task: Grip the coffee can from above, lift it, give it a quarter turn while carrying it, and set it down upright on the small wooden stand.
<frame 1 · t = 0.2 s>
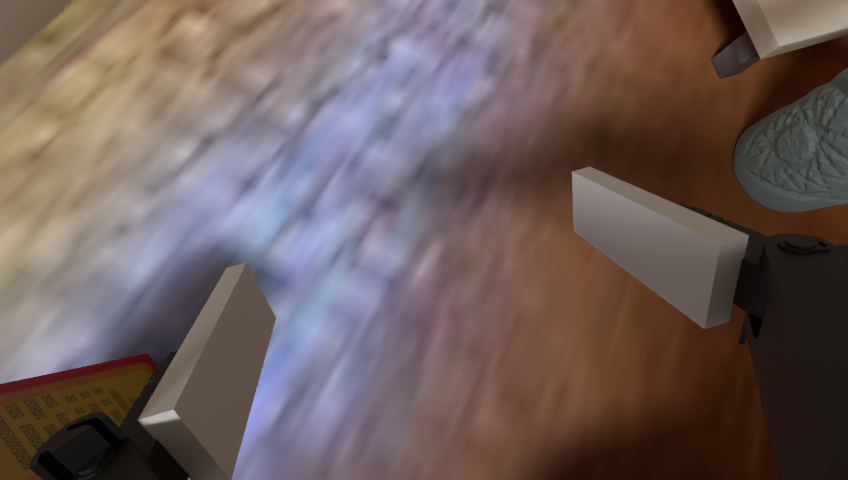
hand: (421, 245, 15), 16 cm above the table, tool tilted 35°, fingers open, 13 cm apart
baking soda box: (123, 430, 28), on the table
grey green cup: (779, 164, 32), on the table
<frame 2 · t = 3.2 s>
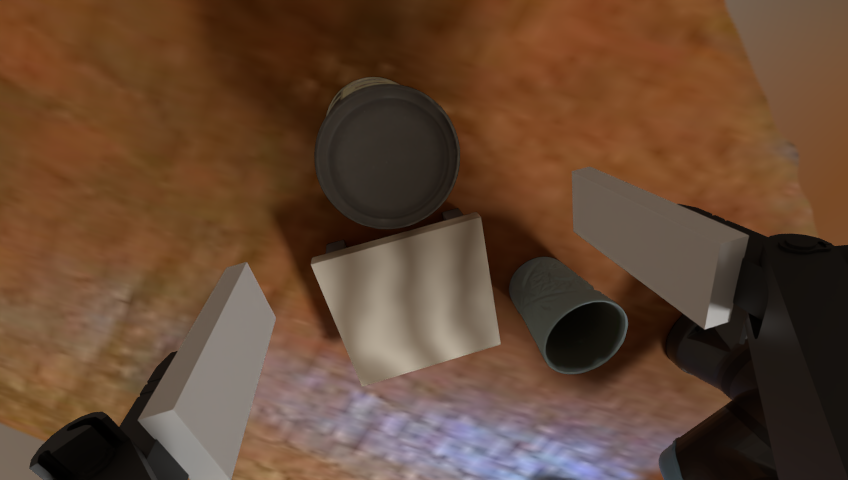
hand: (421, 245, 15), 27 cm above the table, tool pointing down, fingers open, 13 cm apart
coffee can: (376, 130, 39), on the table
grey green cup: (536, 281, 51), on the table
stand: (408, 281, 47), on the table
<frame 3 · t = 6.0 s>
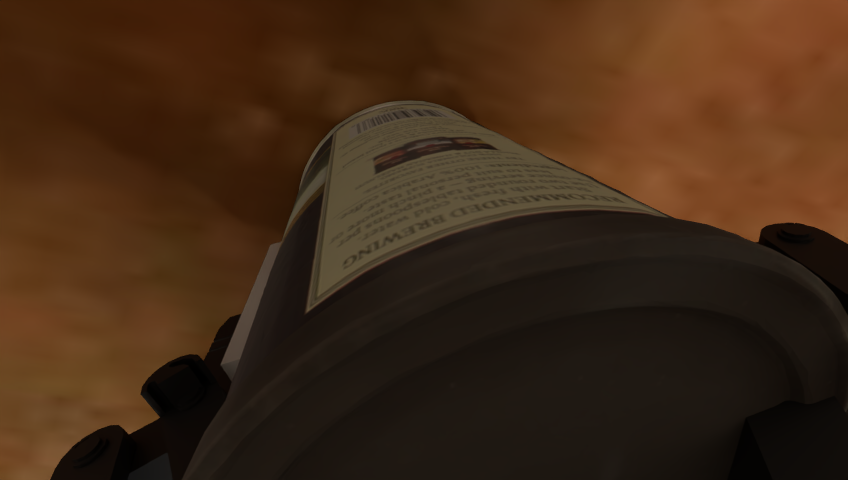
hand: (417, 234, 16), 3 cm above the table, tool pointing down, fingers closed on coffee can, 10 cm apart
coffee can: (408, 209, 18), on the table, touching gripper
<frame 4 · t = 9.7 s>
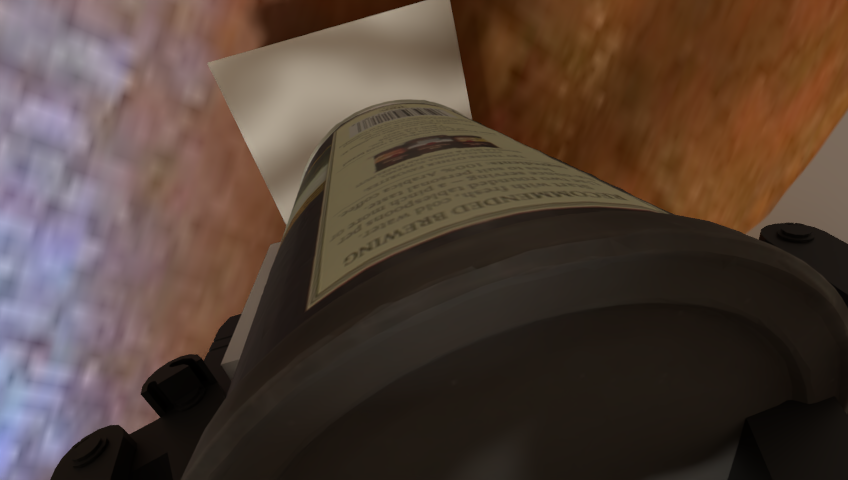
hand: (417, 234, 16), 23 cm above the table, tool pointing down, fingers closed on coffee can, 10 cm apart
coffee can: (408, 208, 18), point 20 cm above the table, touching gripper
stand: (366, 135, 36), on the table
when the fingers open (10 cm above the table, at t = 13.4 s): coffee can drops 1 cm, resting on stand.
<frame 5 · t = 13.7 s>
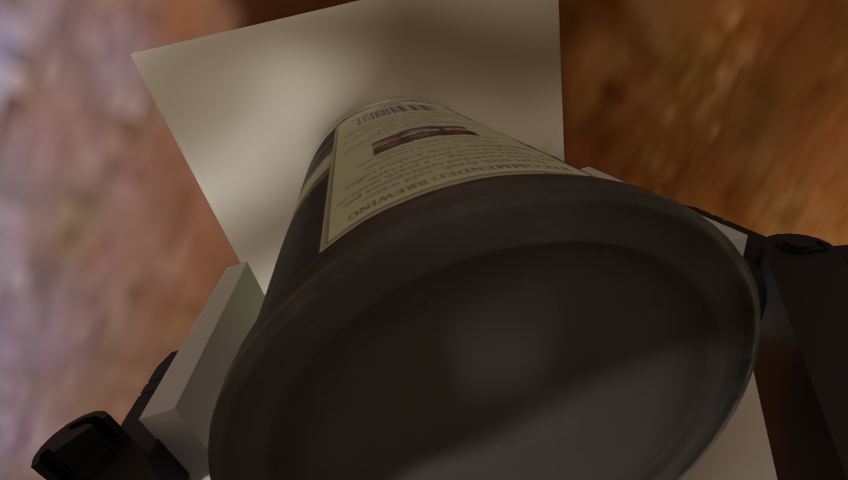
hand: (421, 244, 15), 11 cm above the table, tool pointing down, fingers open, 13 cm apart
coffee can: (405, 199, 19), point 6 cm above the table, touching stand
stand: (391, 171, 25), on the table
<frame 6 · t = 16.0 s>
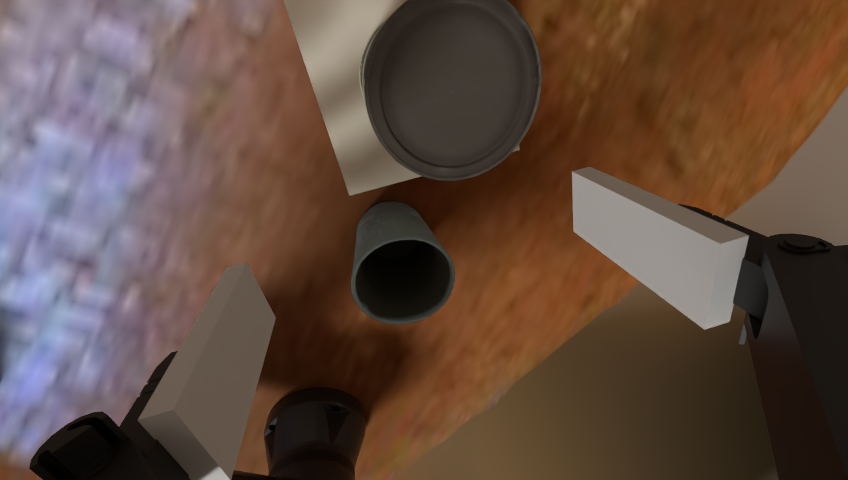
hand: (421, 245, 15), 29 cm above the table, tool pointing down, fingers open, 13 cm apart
coffee can: (416, 78, 33), point 6 cm above the table, touching stand
grey green cup: (392, 230, 46), on the table
stand: (407, 74, 38), on the table
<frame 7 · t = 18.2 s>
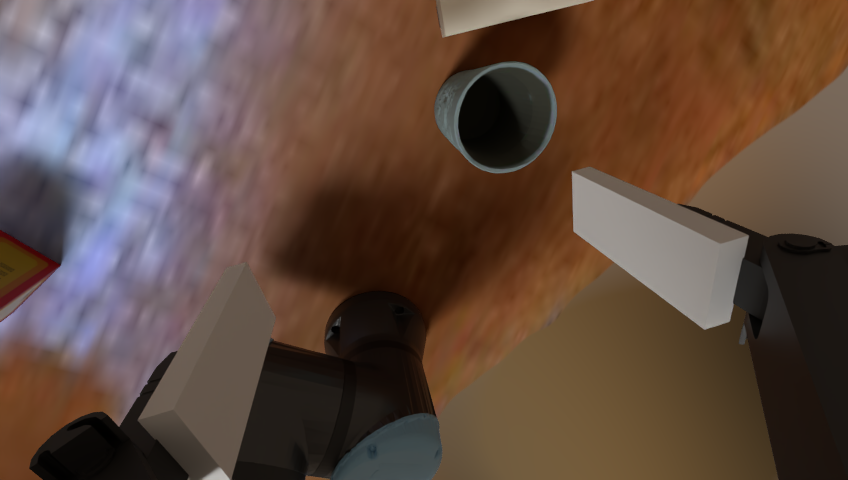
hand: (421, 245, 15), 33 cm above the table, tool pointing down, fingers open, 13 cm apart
baking soda box: (7, 272, 43), on the table
grey green cup: (469, 106, 45), on the table
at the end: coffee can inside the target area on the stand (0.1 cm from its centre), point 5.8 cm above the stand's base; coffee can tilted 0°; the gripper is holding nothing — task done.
